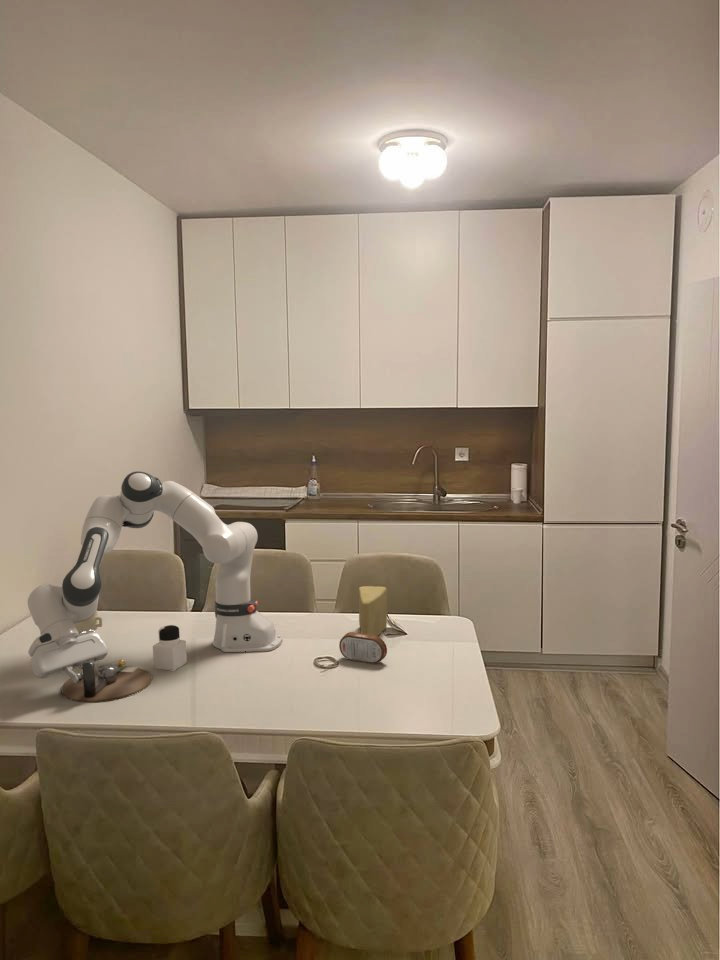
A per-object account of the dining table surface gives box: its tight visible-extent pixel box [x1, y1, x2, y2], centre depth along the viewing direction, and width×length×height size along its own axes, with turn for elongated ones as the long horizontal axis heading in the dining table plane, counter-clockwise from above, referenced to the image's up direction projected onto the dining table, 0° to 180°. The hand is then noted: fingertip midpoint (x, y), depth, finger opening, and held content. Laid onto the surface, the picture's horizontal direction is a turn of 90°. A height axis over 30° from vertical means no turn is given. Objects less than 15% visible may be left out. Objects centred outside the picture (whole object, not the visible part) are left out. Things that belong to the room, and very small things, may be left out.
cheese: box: [358, 585, 388, 637], centre depth 247 cm, size 22×10×15 cm, turn 172°
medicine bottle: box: [152, 624, 187, 672], centre depth 224 cm, size 7×7×12 cm
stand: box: [61, 665, 153, 703], centre depth 211 cm, size 24×24×1 cm
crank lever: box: [81, 658, 126, 697], centre depth 210 cm, size 5×22×9 cm, turn 178°
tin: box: [339, 631, 388, 665], centre depth 226 cm, size 15×3×8 cm, turn 65°
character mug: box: [74, 609, 103, 633], centre depth 239 cm, size 11×7×13 cm, turn 81°
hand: (82, 680), depth 201 cm, fingers closed
